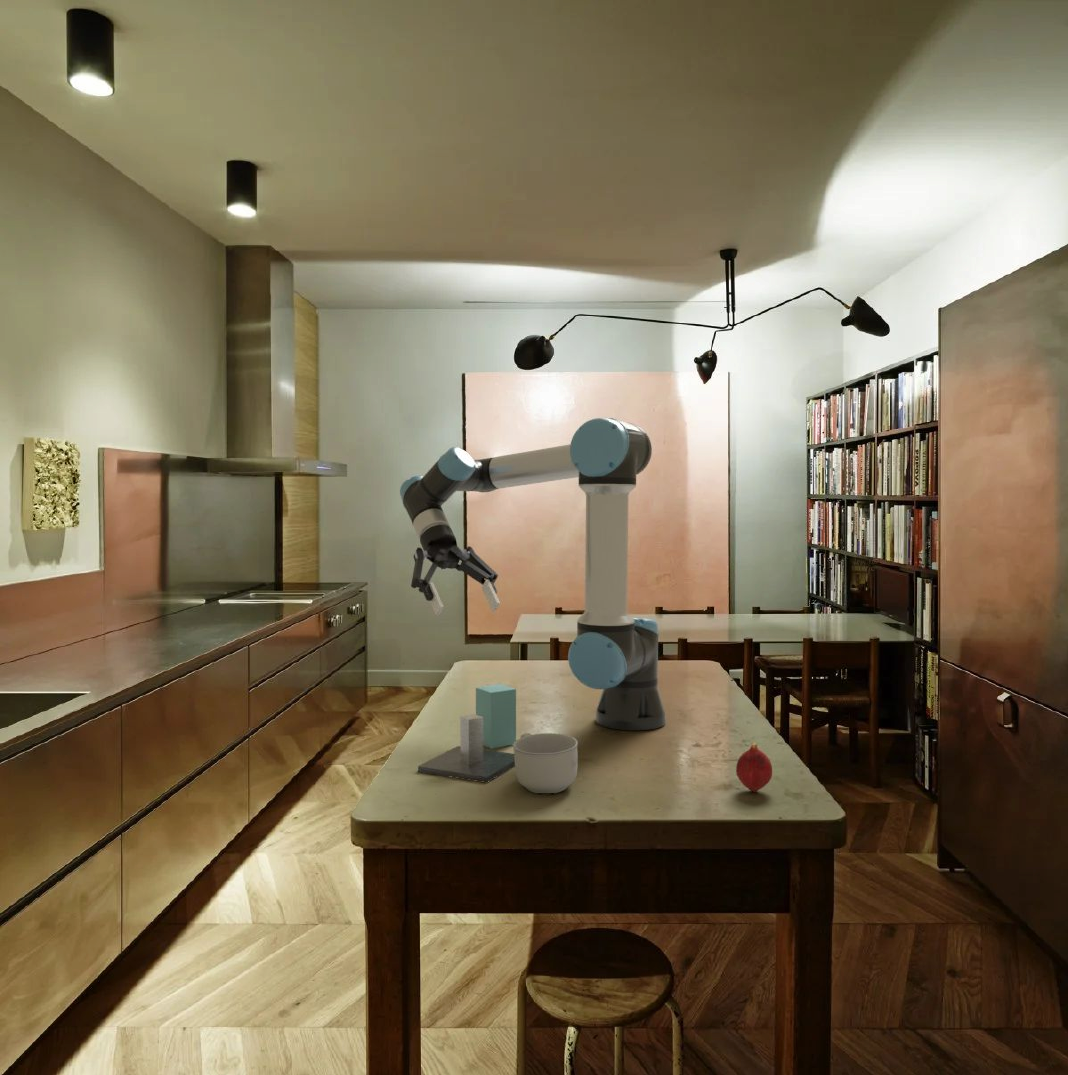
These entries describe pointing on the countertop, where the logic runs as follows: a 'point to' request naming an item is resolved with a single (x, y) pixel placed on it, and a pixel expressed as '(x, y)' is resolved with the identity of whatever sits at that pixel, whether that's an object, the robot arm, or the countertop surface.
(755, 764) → the onion
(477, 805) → the countertop surface
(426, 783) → the countertop surface
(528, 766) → the teacup
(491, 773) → the gray square peg stand
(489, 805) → the countertop surface
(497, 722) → the teal upright box
